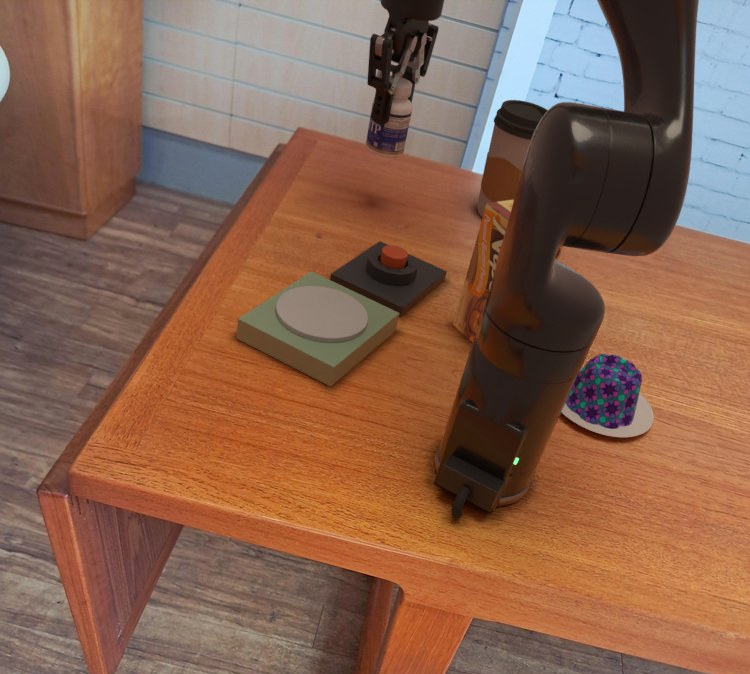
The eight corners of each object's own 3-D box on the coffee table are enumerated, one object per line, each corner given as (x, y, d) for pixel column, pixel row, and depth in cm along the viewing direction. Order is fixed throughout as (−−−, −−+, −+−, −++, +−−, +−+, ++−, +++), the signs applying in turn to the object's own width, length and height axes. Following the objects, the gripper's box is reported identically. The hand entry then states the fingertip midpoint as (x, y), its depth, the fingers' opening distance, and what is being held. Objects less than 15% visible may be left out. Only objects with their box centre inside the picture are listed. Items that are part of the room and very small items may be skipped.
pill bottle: (360, 141, 107) (371, 71, 101) (396, 144, 108) (409, 75, 102) (371, 158, 103) (384, 86, 97) (408, 160, 105) (423, 90, 99)
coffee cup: (531, 217, 119) (566, 114, 108) (509, 234, 113) (543, 128, 103) (484, 196, 121) (513, 94, 110) (459, 212, 115) (488, 105, 105)
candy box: (523, 360, 90) (569, 237, 80) (495, 368, 88) (540, 242, 78) (476, 319, 95) (514, 197, 84) (449, 325, 93) (485, 201, 82)
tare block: (400, 317, 92) (405, 295, 90) (329, 284, 94) (332, 261, 92) (444, 281, 100) (450, 259, 98) (377, 250, 102) (382, 229, 100)
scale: (330, 387, 80) (335, 362, 78) (236, 338, 83) (238, 313, 81) (395, 331, 90) (400, 308, 88) (308, 289, 93) (311, 266, 90)
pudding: (558, 360, 92) (574, 322, 88) (657, 398, 90) (677, 361, 86) (534, 415, 83) (551, 375, 80) (643, 457, 81) (665, 419, 78)
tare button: (397, 273, 94) (400, 261, 93) (374, 262, 95) (377, 251, 94) (409, 263, 96) (412, 252, 95) (387, 253, 97) (390, 242, 96)
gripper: (418, -19, 85) (388, 139, 97) (472, -30, 95) (439, 115, 107) (360, -39, 87) (338, 119, 99) (418, -48, 97) (392, 97, 109)
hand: (390, 116), depth 103 cm, fingers closed on pill bottle, 5 cm apart
